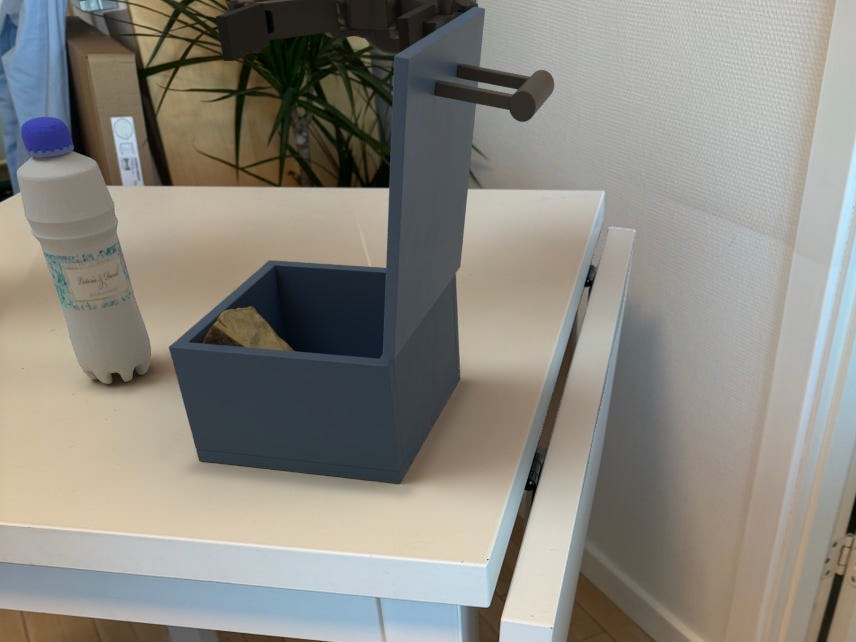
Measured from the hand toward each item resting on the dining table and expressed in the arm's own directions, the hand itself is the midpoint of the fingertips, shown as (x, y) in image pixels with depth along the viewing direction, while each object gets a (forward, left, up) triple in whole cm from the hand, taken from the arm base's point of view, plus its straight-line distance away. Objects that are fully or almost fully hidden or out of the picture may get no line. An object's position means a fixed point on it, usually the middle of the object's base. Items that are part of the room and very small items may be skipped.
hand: (312, 40), depth 64 cm
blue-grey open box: (+2, -9, -24) cm, 26 cm away
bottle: (-20, -5, -24) cm, 32 cm away
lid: (+11, -9, -6) cm, 16 cm away
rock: (+1, -11, -23) cm, 25 cm away
